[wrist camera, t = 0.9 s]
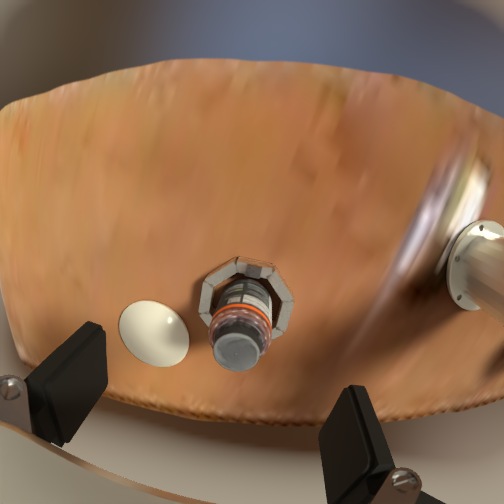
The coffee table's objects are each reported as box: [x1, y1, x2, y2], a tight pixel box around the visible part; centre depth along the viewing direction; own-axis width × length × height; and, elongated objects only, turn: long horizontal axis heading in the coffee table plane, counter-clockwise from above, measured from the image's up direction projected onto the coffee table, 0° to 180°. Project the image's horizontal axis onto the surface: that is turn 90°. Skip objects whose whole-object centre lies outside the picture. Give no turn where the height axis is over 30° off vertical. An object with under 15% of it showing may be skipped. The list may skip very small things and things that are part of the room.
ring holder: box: [199, 256, 294, 340], centre depth 33 cm, size 10×10×3 cm
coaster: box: [119, 300, 190, 367], centre depth 37 cm, size 10×10×1 cm
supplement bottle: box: [208, 279, 273, 371], centre depth 29 cm, size 6×6×11 cm
